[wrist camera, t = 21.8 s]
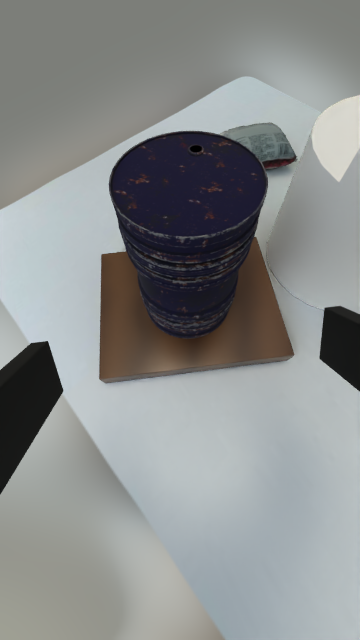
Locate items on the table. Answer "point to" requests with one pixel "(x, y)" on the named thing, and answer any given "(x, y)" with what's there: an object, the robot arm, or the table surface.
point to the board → (179, 353)
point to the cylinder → (323, 215)
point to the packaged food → (264, 143)
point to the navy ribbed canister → (188, 224)
